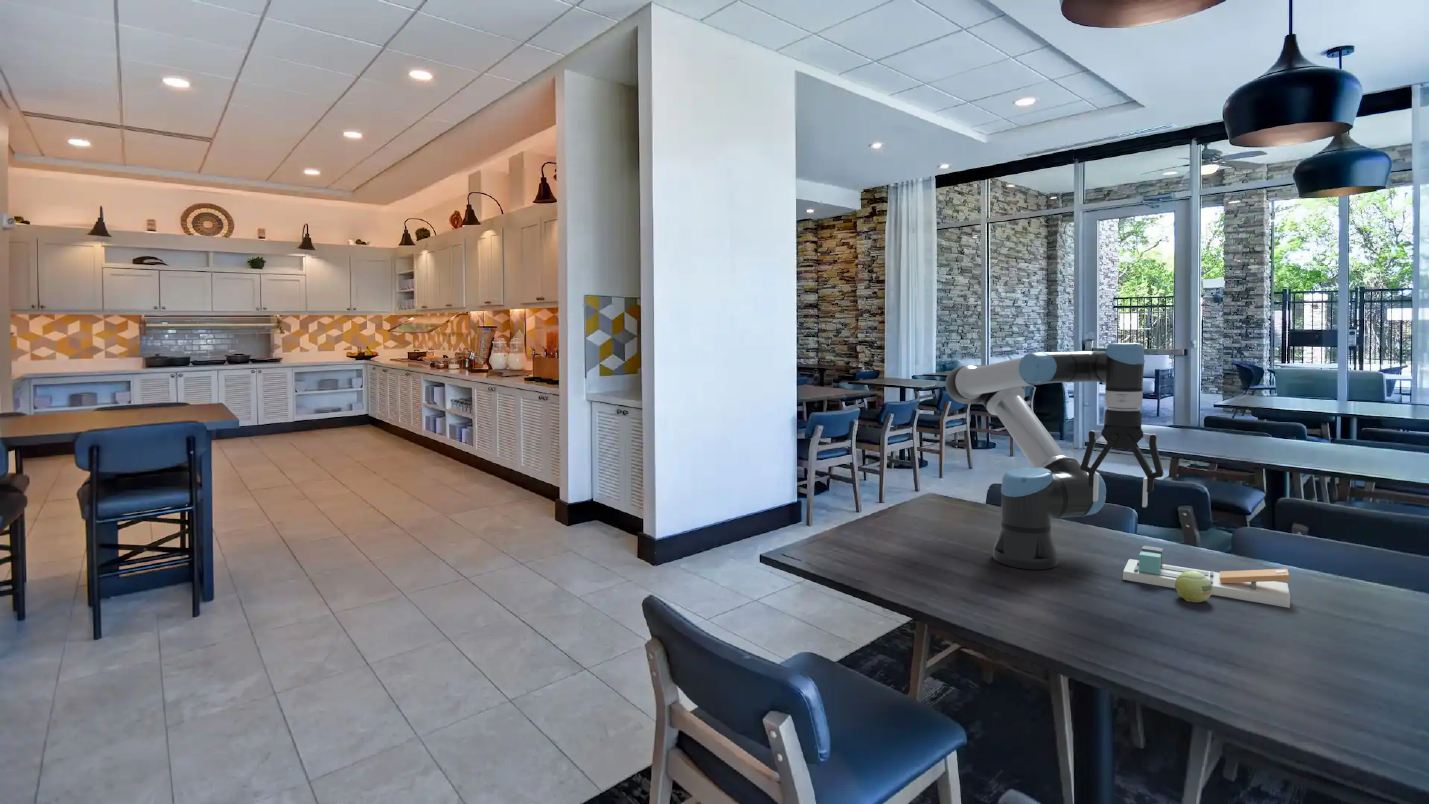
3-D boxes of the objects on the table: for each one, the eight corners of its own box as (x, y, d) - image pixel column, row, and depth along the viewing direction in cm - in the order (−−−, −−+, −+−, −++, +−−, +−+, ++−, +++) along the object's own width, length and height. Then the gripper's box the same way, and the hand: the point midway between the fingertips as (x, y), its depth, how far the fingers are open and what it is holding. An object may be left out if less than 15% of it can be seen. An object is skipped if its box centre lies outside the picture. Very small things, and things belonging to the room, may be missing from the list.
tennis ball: (1201, 576, 142) (1215, 569, 146) (1166, 572, 148) (1181, 565, 152) (1205, 607, 142) (1219, 599, 146) (1170, 601, 148) (1185, 594, 152)
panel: (1122, 579, 160) (1123, 565, 160) (1128, 566, 169) (1129, 553, 168) (1289, 607, 142) (1290, 592, 141) (1286, 592, 150) (1287, 577, 150)
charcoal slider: (1141, 564, 163) (1142, 548, 163) (1142, 561, 165) (1143, 545, 165) (1161, 568, 161) (1162, 551, 160) (1162, 564, 163) (1163, 548, 163)
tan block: (1220, 583, 151) (1219, 577, 151) (1221, 576, 155) (1219, 570, 155) (1290, 580, 143) (1288, 574, 143) (1288, 574, 147) (1287, 567, 147)
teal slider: (1138, 571, 159) (1139, 554, 158) (1140, 567, 161) (1140, 551, 161) (1159, 574, 156) (1159, 557, 156) (1160, 570, 159) (1161, 554, 158)
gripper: (1067, 408, 163) (1065, 500, 165) (1179, 412, 150) (1174, 512, 152) (1073, 405, 169) (1070, 494, 171) (1181, 409, 156) (1176, 506, 158)
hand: (1119, 503), depth 161 cm, fingers open, 9 cm apart
